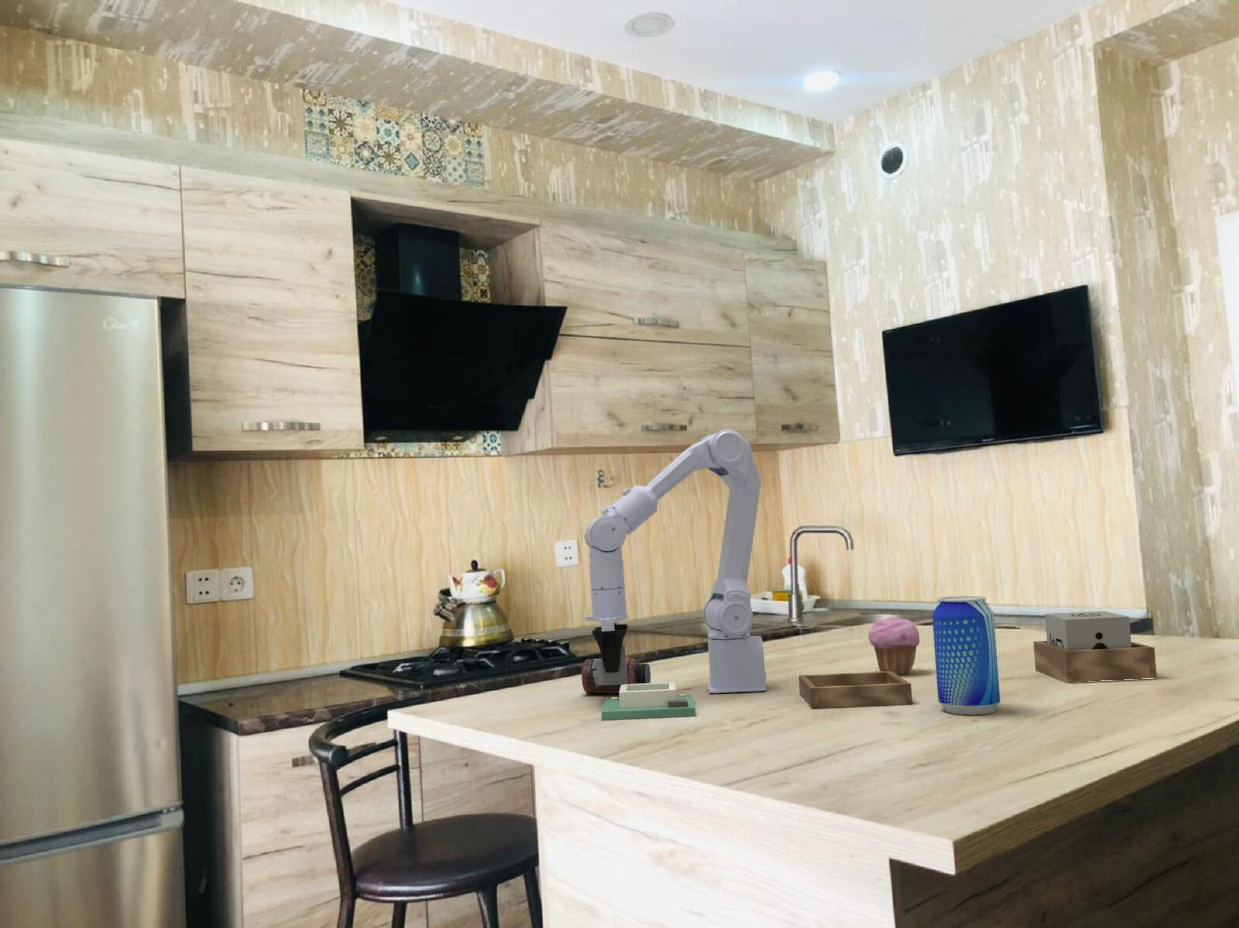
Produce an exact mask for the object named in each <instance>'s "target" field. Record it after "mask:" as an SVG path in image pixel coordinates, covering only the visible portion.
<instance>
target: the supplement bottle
mask: <svg viewBox="0 0 1239 928" xmlns="http://www.w3.org/2000/svg"><path fill="white" fill-rule="evenodd" d="M597 659H598V658H589V659H588V658H587V659H585V660H584V662H583V664H582V668H581V683H582V684H581V685H582V689H583V691H584V692H585V693H586V694H588V695H589V694H592V695H593V694H596V695H597V694H603V695H604V694H619V691H620V687H621V685H624V684H620V685H605V686H603V685H598V680H597V667H596V660H597ZM627 668H628V684H645V683H651V680H652V679H651V678H652V677H651V676H652V675H651V673H652V672H651V667H650V664H649V663H639V662H637V659H635V658H629V657H628V658H627Z"/></svg>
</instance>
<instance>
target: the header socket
mask: <svg viewBox="0 0 1239 928" xmlns="http://www.w3.org/2000/svg"><path fill="white" fill-rule="evenodd" d="M618 694H619V695H618V696H619V697H618V698H619V699H620V709H622V708H643V707H665V706H668V701H676V695H677V688H676V682H675V681H670V682H667V681H666V682H650V683H645V684H624V685H621V687H620V691H619V693H618Z"/></svg>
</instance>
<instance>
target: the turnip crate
mask: <svg viewBox="0 0 1239 928" xmlns="http://www.w3.org/2000/svg"><path fill="white" fill-rule="evenodd" d="M798 685H799V687H798V688H799V689H798V690H799V695H800V696H801V697H802V699H803V698H804V699H803V700H804V701H805V702H806V703H808V704H809V705H808V704H807V705H808V706H809V707H810V708H811V709H812V708H816V709H834V708H836V707H837V708H852V707H853V708H854V707H856V708H857V707H879V706H896V705H897V706H899V705H913V694H912V692H913V691H912V683H910V682H909V681H907V680H906V679H904V678H903V677H901V675H897V674H895V673H893V672H892V671H883V672H881V671H865V672H864V671H863V672H862V671H861V672H845V673H843V672H842V673H825V674H823V673H822V674H801V675H800V674H799V675H798ZM837 708H836V709H837Z"/></svg>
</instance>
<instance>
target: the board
mask: <svg viewBox="0 0 1239 928" xmlns="http://www.w3.org/2000/svg"><path fill="white" fill-rule="evenodd" d="M600 714H601V721H609V720H610V721H613V720H614V721H615V720H617V721H618V720H635V719H638V720H639V719H659V718H676V717H696V706H695V701H694V696H693V693H691V694H689V693H680V694H676V701H668V706H665V707H643V708H622V709H620V699H619V697H618V696H611V697H607V698H606V697H605V700H604V703H603V706H602V709H601V713H600Z"/></svg>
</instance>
